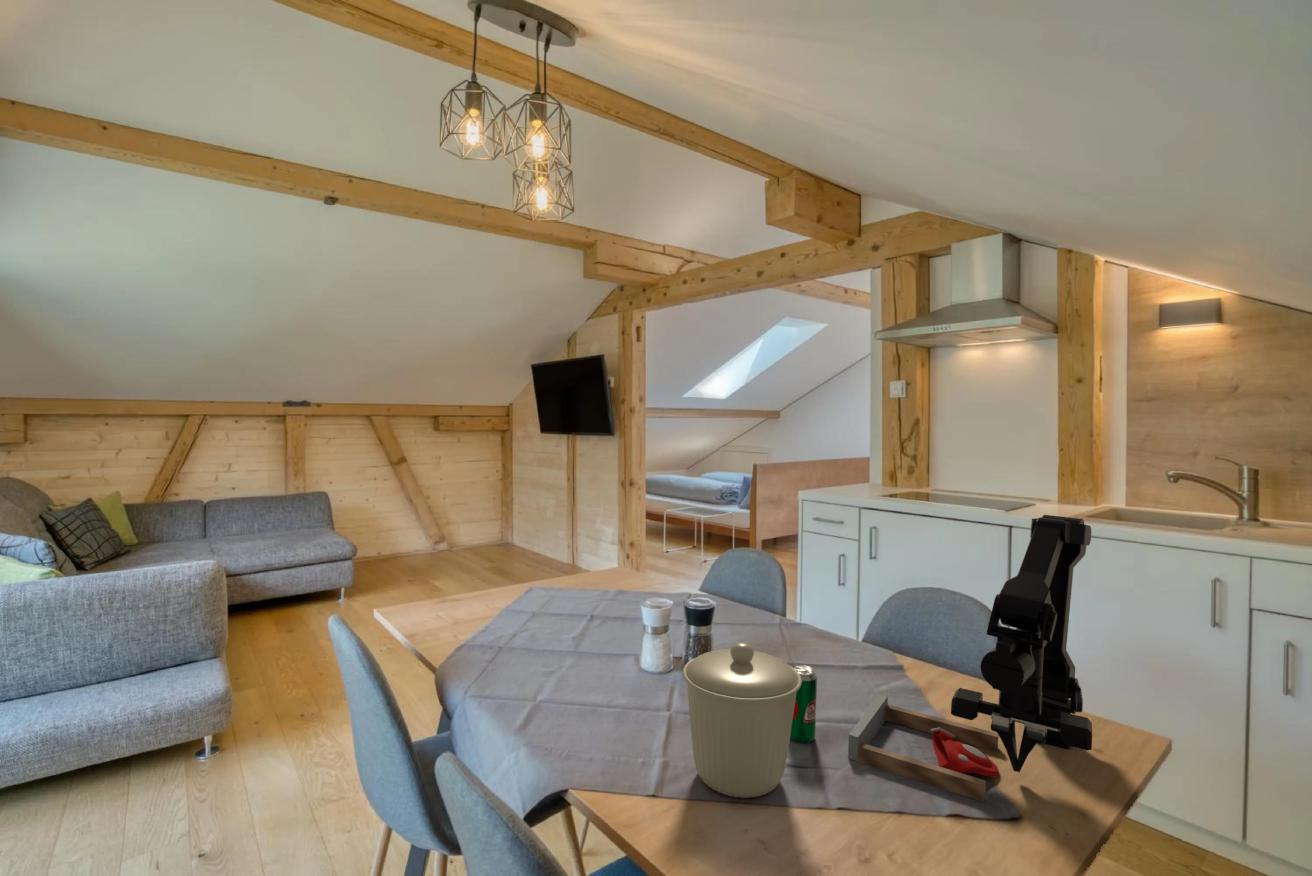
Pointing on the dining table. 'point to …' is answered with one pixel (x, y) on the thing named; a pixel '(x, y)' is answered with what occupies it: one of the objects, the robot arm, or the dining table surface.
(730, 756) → the canister
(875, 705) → the end stop
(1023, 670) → the robot arm
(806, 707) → the soda can
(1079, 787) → the dining table surface
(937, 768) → the walnut channel
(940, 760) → the tracker holder
